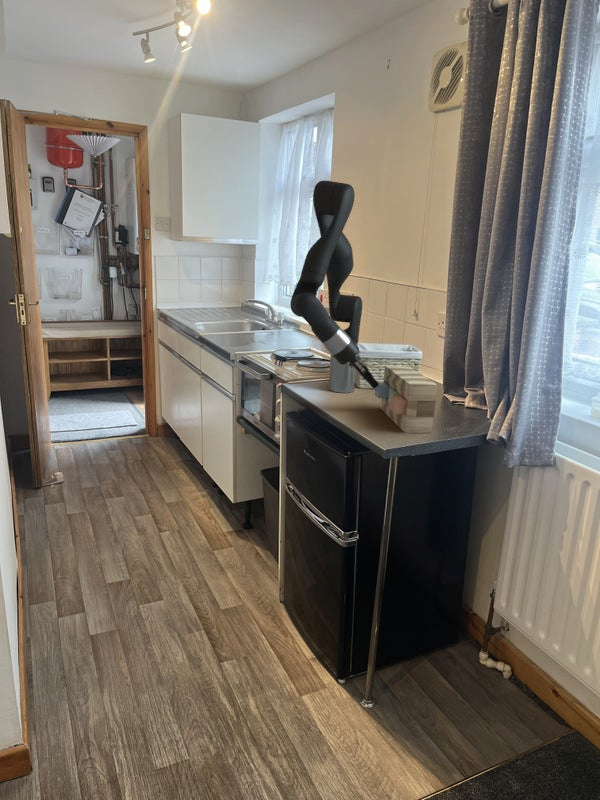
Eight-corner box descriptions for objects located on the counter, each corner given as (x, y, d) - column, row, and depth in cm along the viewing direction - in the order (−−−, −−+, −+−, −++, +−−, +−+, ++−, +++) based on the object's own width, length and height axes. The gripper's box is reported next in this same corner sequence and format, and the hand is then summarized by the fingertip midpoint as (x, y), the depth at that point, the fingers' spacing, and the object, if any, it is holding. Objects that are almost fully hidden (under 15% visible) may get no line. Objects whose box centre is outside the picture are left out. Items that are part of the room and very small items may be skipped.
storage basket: (354, 389, 210) (358, 349, 206) (347, 379, 226) (351, 341, 222) (419, 392, 212) (424, 352, 209) (408, 381, 228) (412, 344, 224)
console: (380, 408, 188) (385, 365, 184) (404, 408, 189) (409, 366, 185) (404, 432, 165) (409, 384, 161) (431, 432, 166) (437, 384, 162)
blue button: (374, 394, 184) (376, 382, 183) (384, 395, 184) (385, 382, 183) (378, 398, 180) (379, 385, 179) (388, 398, 181) (389, 385, 179)
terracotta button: (389, 409, 169) (391, 395, 168) (400, 409, 169) (401, 396, 168) (394, 413, 165) (395, 399, 164) (404, 413, 165) (406, 399, 164)
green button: (388, 401, 177) (389, 389, 175) (398, 402, 177) (399, 389, 176) (391, 405, 173) (393, 392, 172) (402, 405, 173) (403, 392, 172)
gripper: (354, 340, 169) (391, 383, 174) (344, 333, 182) (379, 373, 187) (335, 358, 170) (372, 399, 175) (326, 349, 182) (361, 388, 187)
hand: (375, 385), depth 181 cm, fingers closed
